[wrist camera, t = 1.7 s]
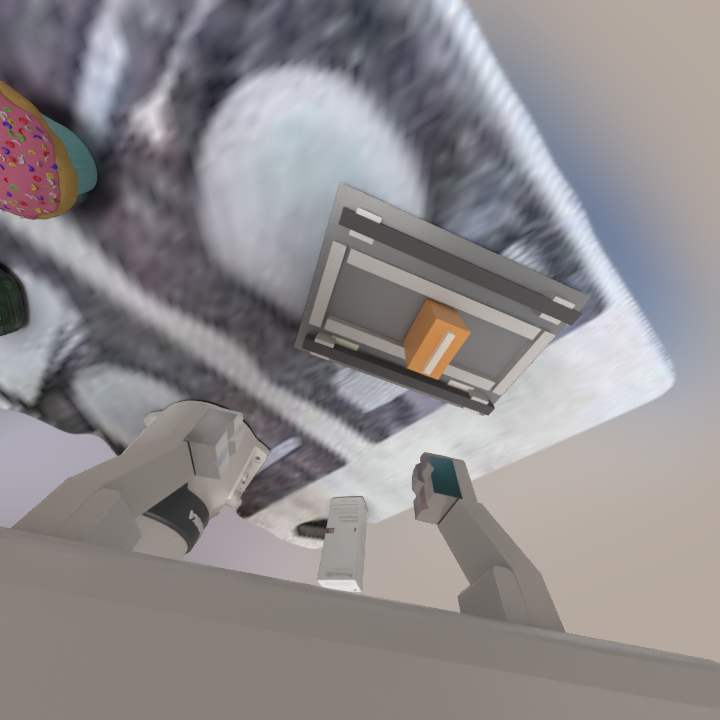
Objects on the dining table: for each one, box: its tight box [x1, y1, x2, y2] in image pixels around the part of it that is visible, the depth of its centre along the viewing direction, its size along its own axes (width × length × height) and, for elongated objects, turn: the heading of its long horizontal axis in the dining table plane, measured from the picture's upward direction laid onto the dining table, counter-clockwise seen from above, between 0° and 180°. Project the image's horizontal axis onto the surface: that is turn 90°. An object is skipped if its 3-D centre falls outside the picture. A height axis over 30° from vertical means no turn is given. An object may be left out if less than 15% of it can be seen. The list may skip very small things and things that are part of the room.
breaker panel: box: [294, 182, 591, 416], centre depth 26 cm, size 16×24×4 cm, turn 69°
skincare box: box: [317, 497, 367, 592], centre depth 42 cm, size 6×4×12 cm
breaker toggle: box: [403, 298, 471, 380], centre depth 23 cm, size 5×3×6 cm, turn 159°
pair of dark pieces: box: [302, 207, 582, 415], centre depth 25 cm, size 13×22×1 cm, turn 69°
